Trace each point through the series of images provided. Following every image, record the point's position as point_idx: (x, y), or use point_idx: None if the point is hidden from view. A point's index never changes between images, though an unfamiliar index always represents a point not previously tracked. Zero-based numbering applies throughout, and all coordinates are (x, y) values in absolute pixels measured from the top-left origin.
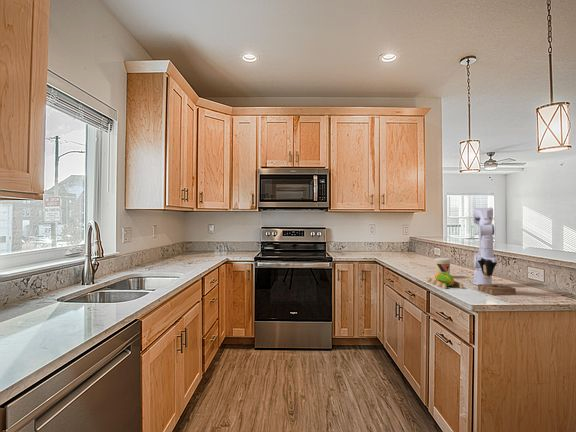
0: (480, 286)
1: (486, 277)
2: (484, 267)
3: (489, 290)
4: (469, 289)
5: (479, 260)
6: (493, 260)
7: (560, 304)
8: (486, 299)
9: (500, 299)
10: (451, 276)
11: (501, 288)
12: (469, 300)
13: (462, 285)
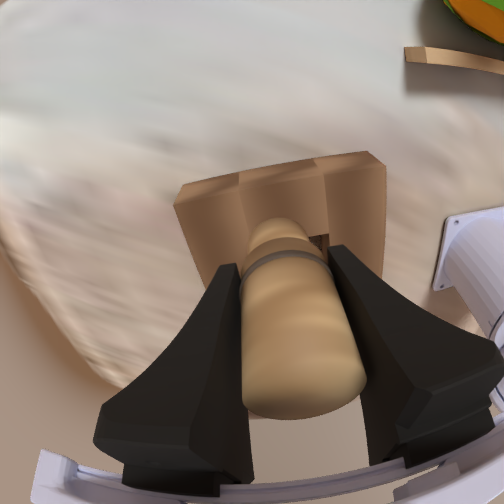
0: (342, 166)
1: (254, 239)
2: (274, 326)
3: (206, 189)
4: (383, 93)
5: (481, 388)
6: (40, 476)
7: (91, 364)
8: (41, 120)
9: (67, 199)
10: (502, 3)
11: (210, 276)
12: (6, 31)
13: (419, 54)
